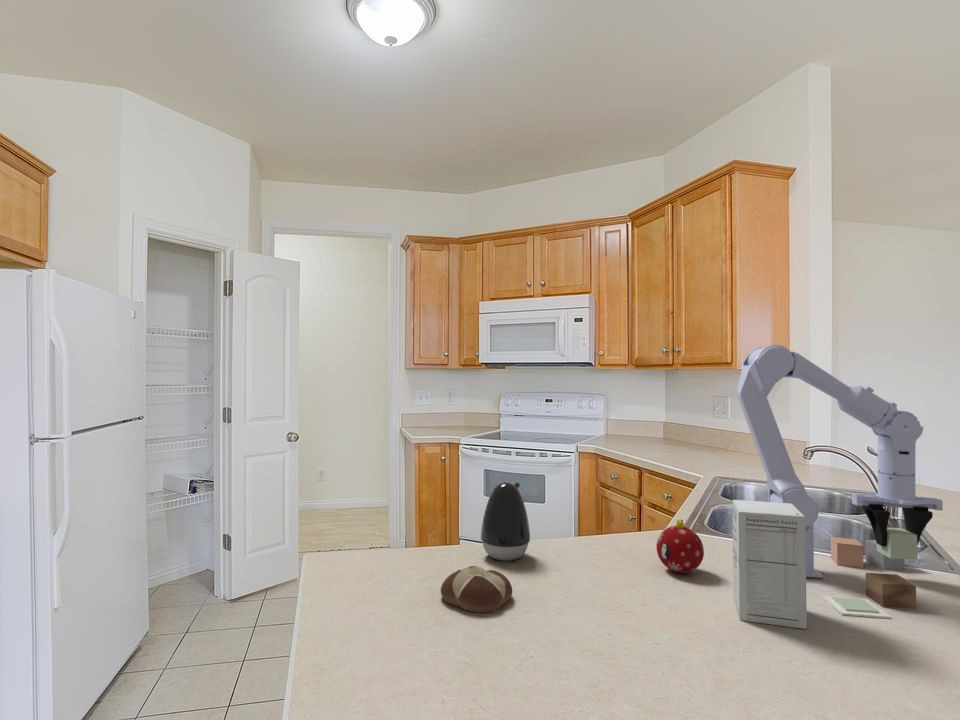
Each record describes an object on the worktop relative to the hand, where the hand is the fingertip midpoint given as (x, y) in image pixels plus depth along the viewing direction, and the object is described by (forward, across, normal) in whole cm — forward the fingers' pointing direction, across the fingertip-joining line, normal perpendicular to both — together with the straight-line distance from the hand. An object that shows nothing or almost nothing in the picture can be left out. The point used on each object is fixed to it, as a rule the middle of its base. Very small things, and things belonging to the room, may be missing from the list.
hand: (896, 545), depth 103 cm
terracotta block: (+6, -5, +8) cm, 11 cm away
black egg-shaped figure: (+7, -74, -2) cm, 74 cm away
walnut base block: (+6, -8, -12) cm, 16 cm away
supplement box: (+7, -30, -21) cm, 37 cm away
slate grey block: (+6, +2, +8) cm, 10 cm away
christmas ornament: (+7, -40, -4) cm, 41 cm away
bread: (+7, -76, -24) cm, 80 cm away
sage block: (+2, 0, 0) cm, 2 cm away
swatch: (+6, -15, -16) cm, 23 cm away
